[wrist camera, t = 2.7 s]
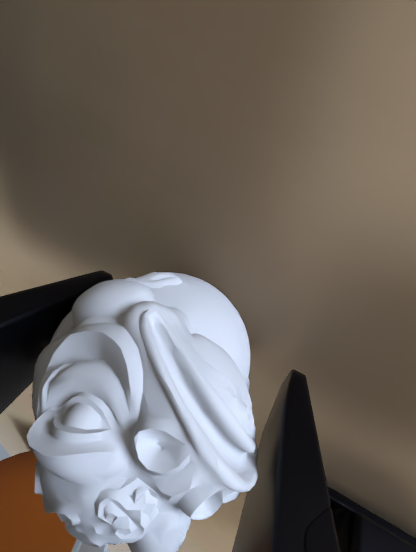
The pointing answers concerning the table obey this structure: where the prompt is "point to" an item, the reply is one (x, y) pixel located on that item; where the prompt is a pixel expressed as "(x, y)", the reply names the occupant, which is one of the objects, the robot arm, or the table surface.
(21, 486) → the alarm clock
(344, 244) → the table surface
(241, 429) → the white carved sculpture
